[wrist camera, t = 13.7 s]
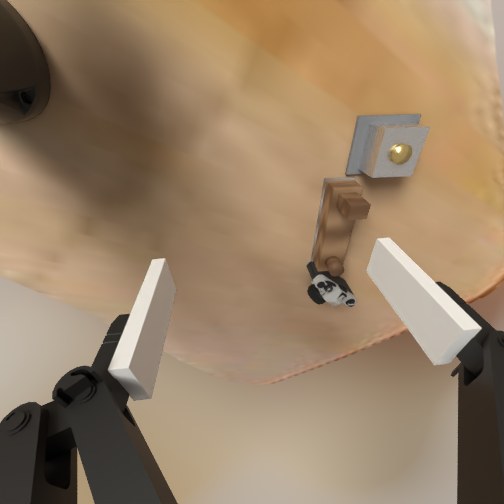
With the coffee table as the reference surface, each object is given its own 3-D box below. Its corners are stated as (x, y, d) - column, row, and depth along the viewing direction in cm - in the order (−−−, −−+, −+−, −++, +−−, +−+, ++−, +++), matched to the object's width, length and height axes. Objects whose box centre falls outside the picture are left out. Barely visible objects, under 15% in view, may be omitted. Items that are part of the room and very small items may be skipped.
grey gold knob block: (358, 168, 41) (374, 179, 36) (369, 123, 37) (389, 128, 32) (393, 167, 41) (414, 177, 36) (408, 122, 37) (434, 127, 32)
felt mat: (345, 173, 42) (346, 174, 41) (357, 115, 36) (359, 116, 36) (399, 171, 42) (401, 172, 42) (419, 114, 37) (421, 114, 36)
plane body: (334, 258, 53) (351, 287, 45) (310, 259, 53) (324, 289, 45) (353, 177, 42) (380, 197, 35) (324, 178, 42) (344, 199, 34)
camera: (289, 277, 56) (299, 307, 49) (312, 255, 52) (326, 285, 45) (325, 294, 62) (339, 323, 55) (348, 275, 58) (366, 304, 51)
